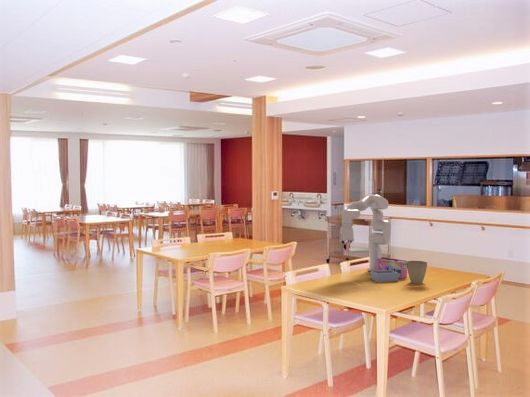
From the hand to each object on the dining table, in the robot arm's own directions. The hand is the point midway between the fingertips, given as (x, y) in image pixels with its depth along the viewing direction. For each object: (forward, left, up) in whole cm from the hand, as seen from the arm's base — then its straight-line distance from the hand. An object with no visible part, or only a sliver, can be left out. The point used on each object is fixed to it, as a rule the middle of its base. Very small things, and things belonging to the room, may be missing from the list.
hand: (346, 249), depth 390 cm
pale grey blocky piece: (0, +9, -2) cm, 9 cm away
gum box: (+1, +38, -23) cm, 44 cm away
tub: (+16, +24, -23) cm, 37 cm away
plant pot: (+29, +44, -23) cm, 57 cm away
